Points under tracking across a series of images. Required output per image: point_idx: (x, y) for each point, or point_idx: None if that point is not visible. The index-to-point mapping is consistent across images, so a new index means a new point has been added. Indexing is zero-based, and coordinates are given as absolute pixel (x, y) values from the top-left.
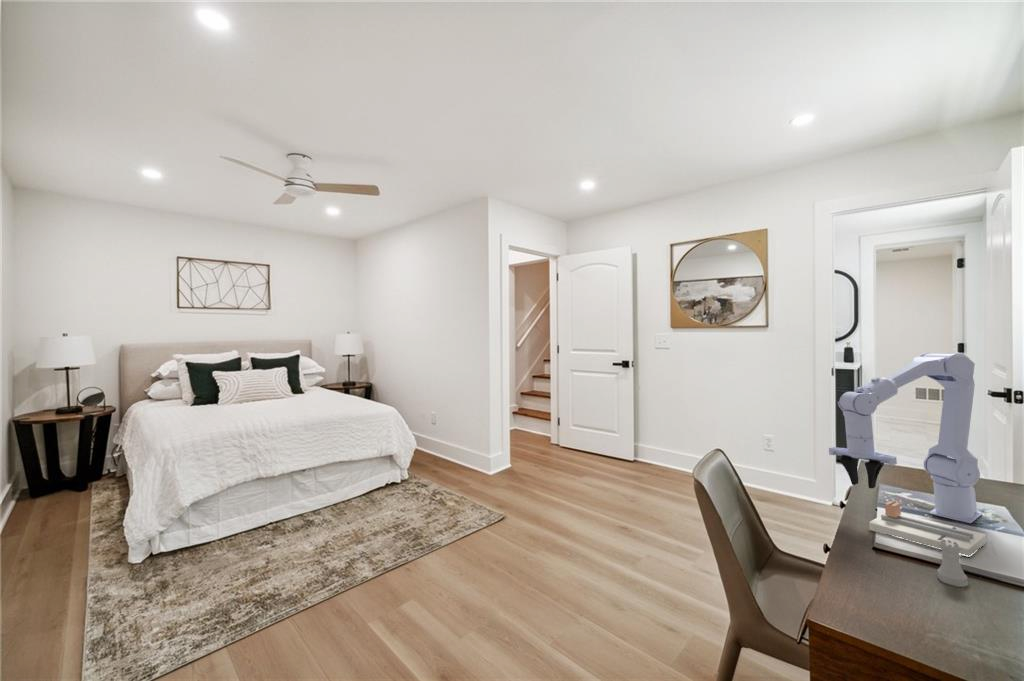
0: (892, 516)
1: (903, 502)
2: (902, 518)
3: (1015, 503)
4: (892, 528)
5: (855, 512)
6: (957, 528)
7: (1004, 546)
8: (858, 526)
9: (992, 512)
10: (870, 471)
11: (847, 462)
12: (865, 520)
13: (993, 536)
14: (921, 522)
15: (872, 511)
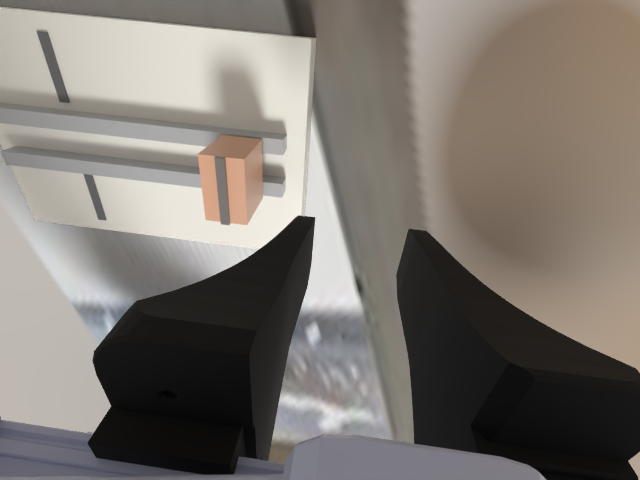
0: (234, 137)
1: (315, 373)
2: None
3: None
4: (209, 31)
5: (409, 218)
6: (96, 218)
7: (27, 210)
8: (365, 49)
9: None
10: (241, 283)
11: (527, 357)
12: (360, 154)
13: (82, 265)
14: (154, 168)
15: (363, 264)
